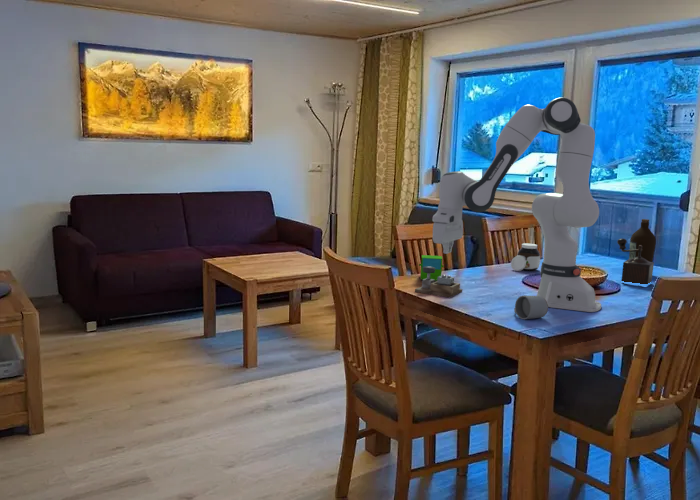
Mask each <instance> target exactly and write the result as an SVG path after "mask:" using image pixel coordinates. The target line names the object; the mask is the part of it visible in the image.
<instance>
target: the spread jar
mask: <svg viewBox="0 0 700 500" xmlns="http://www.w3.org/2000/svg"><path fill="white" fill-rule="evenodd" d="M540 263H541V253H540V251H539V250H538V244H535V243H526V242H525V243H521V248H519V250H518V251H517V254H516V256H514V257H513V258H512V259H511V261H510V267H511V269H512V270H514V271H516V272H522V271H523V270H524V271H523V272H536V271H537V270H538V269H539V267H540Z"/></svg>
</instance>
